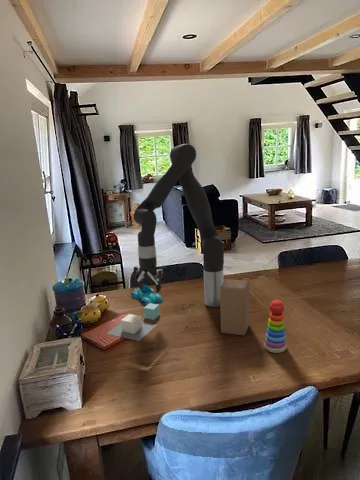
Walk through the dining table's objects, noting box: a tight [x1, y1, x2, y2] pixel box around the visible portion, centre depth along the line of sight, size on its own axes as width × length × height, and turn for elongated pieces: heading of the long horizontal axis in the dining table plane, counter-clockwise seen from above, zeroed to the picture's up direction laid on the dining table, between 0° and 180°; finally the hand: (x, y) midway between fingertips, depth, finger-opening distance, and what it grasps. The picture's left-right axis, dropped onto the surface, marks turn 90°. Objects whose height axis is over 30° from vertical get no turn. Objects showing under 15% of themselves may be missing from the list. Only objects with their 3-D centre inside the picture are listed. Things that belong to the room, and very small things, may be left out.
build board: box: [106, 321, 158, 342], centre depth 152 cm, size 16×14×1 cm
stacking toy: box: [263, 299, 287, 354], centre depth 132 cm, size 8×8×19 cm
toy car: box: [130, 284, 164, 306], centre depth 183 cm, size 11×18×7 cm, turn 34°
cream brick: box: [120, 313, 143, 334], centre depth 151 cm, size 6×6×5 cm
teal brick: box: [143, 303, 161, 321], centre depth 162 cm, size 5×5×6 cm
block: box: [219, 278, 250, 336], centre depth 147 cm, size 10×10×20 cm
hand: (149, 290), depth 159 cm, fingers open, 8 cm apart
